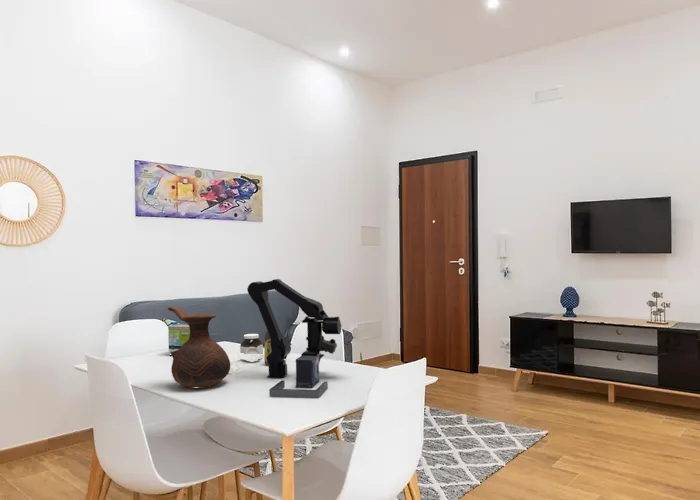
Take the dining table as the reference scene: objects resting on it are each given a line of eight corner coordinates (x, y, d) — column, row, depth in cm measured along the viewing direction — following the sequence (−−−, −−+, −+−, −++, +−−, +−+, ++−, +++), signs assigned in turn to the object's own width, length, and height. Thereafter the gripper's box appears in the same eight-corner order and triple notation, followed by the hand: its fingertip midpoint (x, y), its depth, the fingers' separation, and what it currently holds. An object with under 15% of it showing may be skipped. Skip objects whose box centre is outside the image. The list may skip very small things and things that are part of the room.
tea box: (168, 356, 269) (167, 326, 269) (177, 352, 279) (177, 323, 279) (197, 356, 266) (196, 326, 266) (205, 352, 276) (205, 323, 276)
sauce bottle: (267, 366, 239) (266, 321, 239) (262, 364, 244) (261, 319, 244) (281, 364, 242) (280, 319, 242) (276, 362, 247) (275, 318, 247)
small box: (312, 388, 199) (312, 359, 199) (295, 388, 200) (294, 359, 200) (320, 381, 209) (319, 354, 209) (303, 381, 210) (303, 353, 210)
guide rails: (269, 396, 188) (269, 389, 188) (281, 387, 201) (281, 380, 201) (318, 398, 185) (318, 390, 185) (327, 388, 198) (327, 381, 198)
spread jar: (254, 357, 261) (254, 332, 261) (270, 359, 254) (270, 334, 254) (234, 361, 252) (234, 336, 252) (250, 364, 245) (250, 338, 245)
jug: (211, 375, 224) (210, 302, 224) (241, 383, 208) (239, 304, 208) (160, 385, 209) (159, 306, 209) (188, 395, 193) (186, 310, 193)
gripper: (329, 337, 205) (330, 379, 205) (339, 330, 223) (340, 369, 223) (300, 337, 207) (301, 379, 207) (313, 330, 225) (314, 368, 225)
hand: (315, 373), depth 216 cm, fingers closed
